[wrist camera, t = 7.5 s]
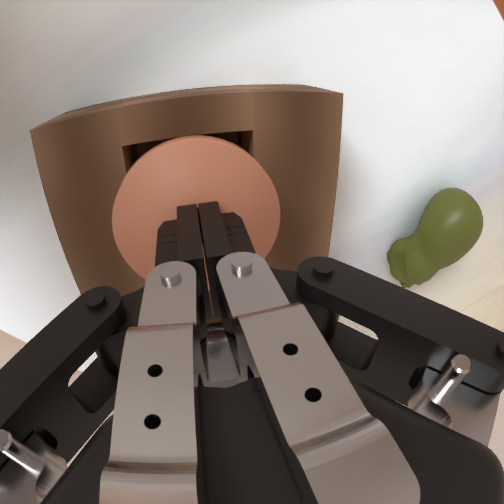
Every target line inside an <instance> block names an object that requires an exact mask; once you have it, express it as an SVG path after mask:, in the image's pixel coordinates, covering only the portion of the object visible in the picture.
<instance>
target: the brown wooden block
mask: <svg viewBox="0 0 504 504" xmlns="http://www.w3.org/2000/svg"><path fill="white" fill-rule="evenodd" d="M342 108H343V93H339V92H335V91H330V90H326V89H321V88H317V87H312V86H307V85H288V84H267V85H236V86H219V87H206V88H196V89H186V90H178V91H170V92H162V93H155V94H149V95H143V96H137V97H131V98H126V99H121V100H116V101H111V102H106V103H102V104H97V105H93V106H89V107H85V108H81V109H77V110H73V111H69V112H66V113H64V114H61V115H59V116H57V117H55V118H53V119H51V120H49V121H47V122H45V123H43V124H41V125H39V126H37V127H35V128H33V129H32V130H30V132H31V138H32V143H33V147H34V152H35V157H36V161H37V165H38V169H39V173H40V177H41V181H42V185H43V189H44V192H45V196H46V199H47V203H48V206H49V209H50V212H51V216H52V219H53V222H54V225H55V228H56V231H57V234H58V237H59V240H60V242H61V245H62V248H63V251H64V253H65V256H66V259H67V261H68V264H69V266H70V269H71V271H72V274H73V276H74V279H75V281H76V283H77V286H78V288H79V291H80V293H81V295H82V294H83V293H85V292H86V291H88V290H90V289H92V288H95V287H99V286H109V287H113V288H115V289H117V290H118V291H119V293H120V295H121V296H124V295H126V294H129V293H132V292H134V291H137V290H139V289H141V288H142V287H144V286H145V283H146V279H144V278H143V277H141V276H140V275H139V274H137V273H136V272H135V271H134V270H133V269H132V268H131V267H130V266H129V265H128V264H127V262H126V261H125V259H124V258H123V257H122V255H121V253H120V251H119V249H118V247H117V245H116V242H115V239H114V234H113V229H112V212H113V206H114V202H115V198H116V196H117V193H118V191H119V189H120V186H121V184H122V182H123V180H124V177H125V176H126V174H127V173H128V171H129V169H130V168H131V167H132V166H133V165H134V163H135V162H136V161H137V160H138V159H139V158H140V157H141V156H142V155H144V154H145V153H146V152H148V151H149V150H151V149H152V148H153V147H155V146H157V145H159V144H161V143H163V142H166V141H169V140H172V139H175V138H179V137H184V136H195V135H201V136H211V137H216V138H220V139H224V140H226V141H229V142H232V143H234V144H235V145H237V146H239V147H241V148H242V149H244V150H245V151H246V152H248V153H249V154H250V155H251V156H252V157H253V158H254V159H255V160H256V161H257V162H258V163H259V164H260V166H261V167H262V168H263V169H264V171H265V172H266V173H267V175H268V176H269V177H270V179H271V181H272V183H273V185H274V187H275V189H276V192H277V195H278V198H279V203H280V226H279V230H278V234H277V237H276V239H275V242H274V244H273V246H272V248H271V250H270V252H269V253H268V254H267V256H266V257H265V261H266V262H267V264H268V266H269V267H271V268H274V269H278V270H288V271H297V269H298V266H299V264H300V263H301V262H302V261H303V260H305V259H307V258H310V257H317V256H322V257H328V253H329V246H330V238H331V231H332V222H333V214H334V205H335V196H336V187H337V176H338V165H339V153H340V140H341V126H342ZM209 298H210V304H211V311H212V318H213V319H206V320H207V324H213V323H219V322H222V317H219V318H215V316H214V311H213V305H212V299H211V294H210V291H209Z"/></svg>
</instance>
